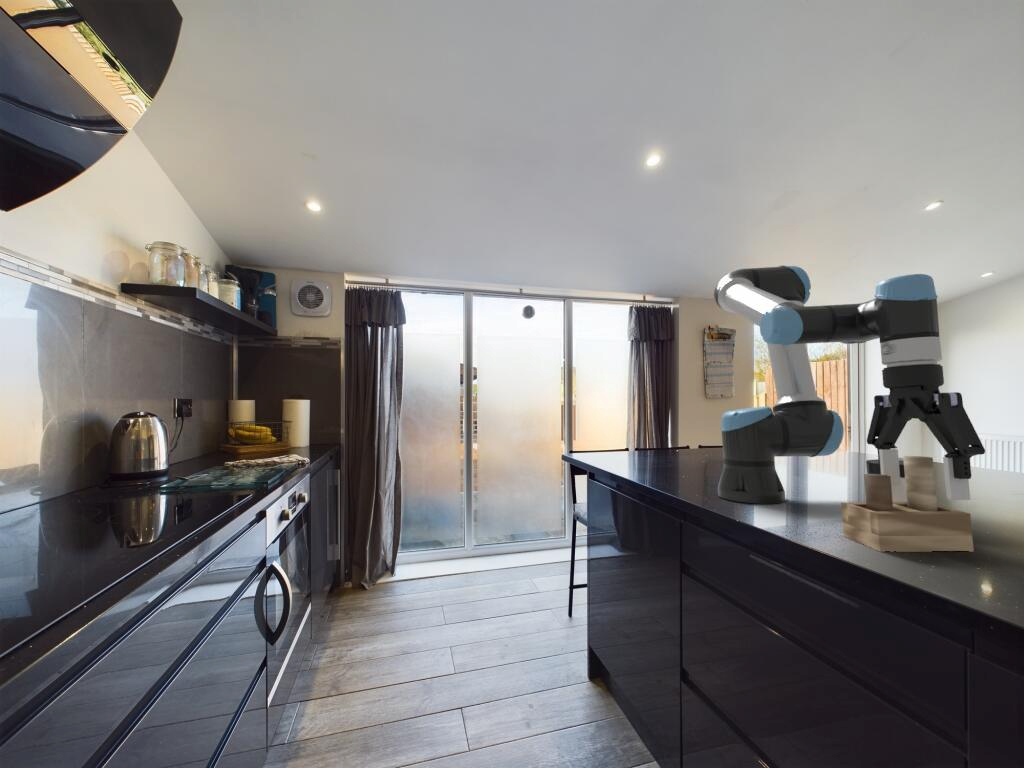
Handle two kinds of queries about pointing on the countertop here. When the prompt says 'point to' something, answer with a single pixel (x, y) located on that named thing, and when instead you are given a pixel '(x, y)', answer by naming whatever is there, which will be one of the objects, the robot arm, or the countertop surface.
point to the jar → (897, 490)
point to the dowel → (920, 483)
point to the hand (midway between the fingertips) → (921, 491)
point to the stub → (878, 492)
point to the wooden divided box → (907, 528)
